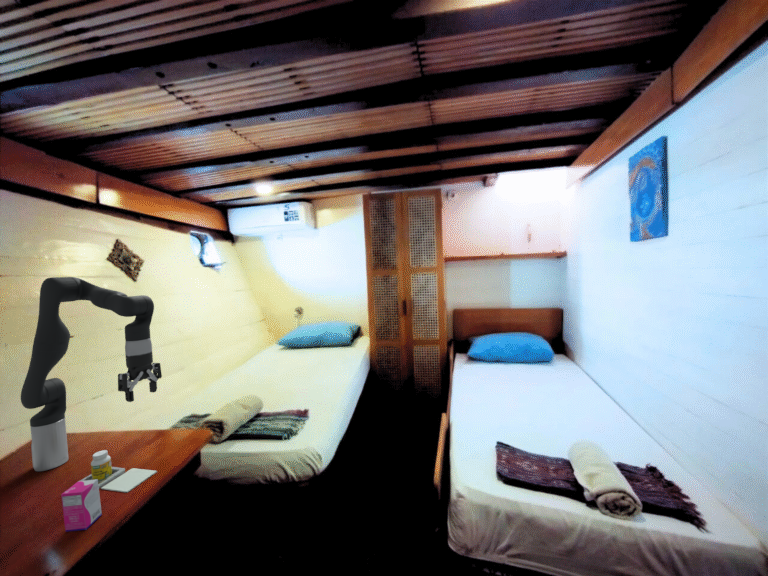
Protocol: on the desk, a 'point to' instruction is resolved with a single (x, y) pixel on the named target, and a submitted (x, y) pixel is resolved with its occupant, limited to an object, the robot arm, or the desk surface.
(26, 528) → the desk surface
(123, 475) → the pad
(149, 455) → the desk surface
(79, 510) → the supplement box
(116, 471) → the square frame
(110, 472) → the supplement bottle
